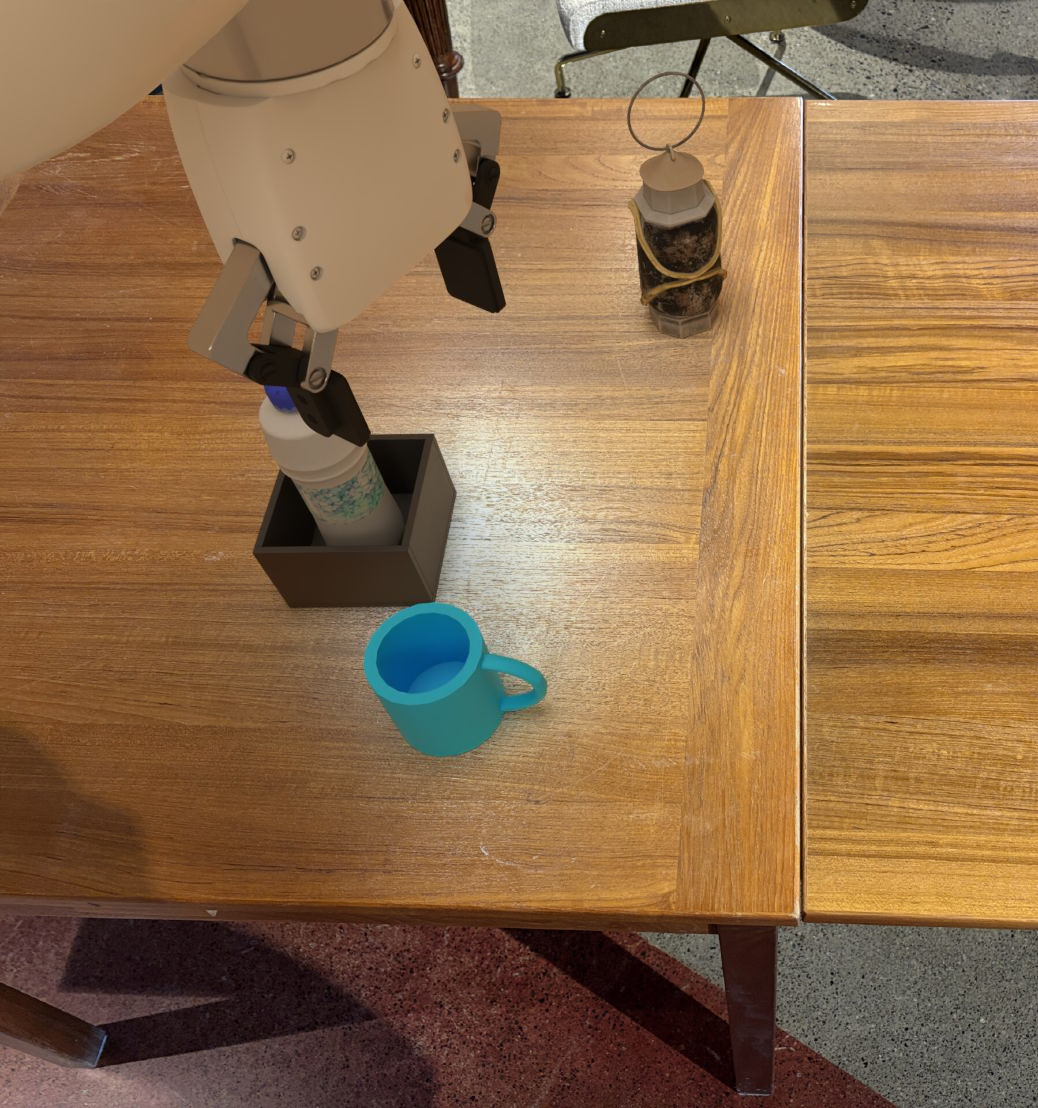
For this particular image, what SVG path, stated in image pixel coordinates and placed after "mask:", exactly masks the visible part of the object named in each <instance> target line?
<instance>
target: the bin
mask: <svg viewBox="0 0 1038 1108" xmlns="http://www.w3.org/2000/svg"><path fill="white" fill-rule="evenodd" d="M367 446H368V449H369V451H370V453H371V455H372V457H373V459H374V461H375V464H376V466H377V468H378V470H379V472H380V474H381V476H382V478H383V481H384V483H385V485H386V487H387V488H388V490H389V492H390V493H391V495H392V497H393V498H394V500H395V502H396V503H397V505H398V507H399V509H400V511H401V513H402V516H403V519H404V522H405V526H406V527H405V531H404V535H403V540H402V543H400V544H399V545H376V546H327V544H326V543H325V541H324V539H323V537H322V535H321V532H320V530H319V528H318V525H317V523H316V521H315V519H314V517H313V515H312V513H311V512H310V510H309V508H308V507H307V505H306V503H305V501H304V500H303V498H302V496H301V495H300V493H299V491H298V489H297V488H296V486H295V484H294V482H293V481H292V479H291V478H290V477H288V476H287V475H286V474H284V473H283V472H282V471H281V469H280V468H279V470H278V472H277V476H276V479H275V482H274V485H273V488H272V491H271V494H270V496H269V500H268V502H267V506H266V508H265V509H266V510H265V512H264V515H263V518H262V522H261V525H260V527H259V531H258V533H257V537H256V540H255V543H254V547H253V549H252V555H253V557H254V558H255V559H256V561H257V562H258V564H259V565H260V566H261V569H262V570H263V571H264V573H265V574H266V575H267V577H268V578H269V580H270V581H271V583H272V584H273V586H274V588H276V590H277V591H278V593H279V594H280V596H281V597H282V598H283V600H284V602H285V603H286V605H287V607H289V608H290V609H291V608H293V609H294V608H296V609H297V608H373V607H374V608H375V607H376V608H378V607H379V608H380V607H381V608H383V607H385V608H386V607H411V606H414V605H417V604H423V603H433V602H436V597H437V592H438V587H439V582H440V577H441V573H442V572H441V571H442V567H443V561H444V557H445V552H446V548H447V541H448V537H449V533H450V527H451V522H452V517H453V512H454V508H455V507H454V506H455V501H456V496H457V490H456V488H455V484H454V481H453V479H452V477H451V474H450V471H449V468H448V466H447V464H446V461H445V459H444V456H443V453H442V451H441V448H440V446H439V443H438V440H437V438H436V435H435V433H432V432H431V433H375V434H373V433H371V434H370V440H369V441H368V442H367Z"/></svg>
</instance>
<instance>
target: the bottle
mask: <svg viewBox="0 0 1038 1108" xmlns="http://www.w3.org/2000/svg"><path fill="white" fill-rule="evenodd" d="M263 389H264V392H265V395H266V397H265V398H264V399H263V401H262V402H261V404H260V407H259V411H258V422H259V425H260V428H261V430H262V434H263V436H264V438H265V441H266V445H267V449H268V452H269V454H270V457H271V459H273V461H274V462H275V463H276V464H277V467H278V468H279V469H281V471H282V472H283V473H284V474H286V475H287V476H288V477H290V478H291V479H292V481H293V482H294V484H295V486H296V488H297V489H298V491H299V493H300V495H301V496H302V498H303V500H304V501H305V503H306V505H307V507H308V508H309V510H310V512H311V513H312V515H313V517H314V519H315V521H316V523H317V525H318V528H319V530H320V532H321V535H322V537H323V539H324V541H325V543H326V544H327V546H376V545H399V544H400V543H402V540H403V535H404V531H405V527H406V526H405V522H404V519H403V516H402V513H401V511H400V509H399V507H398V505H397V503H396V502H395V500H394V498H393V497H392V495H391V493H390V492H389V490H388V488H387V487H386V485H385V483H384V481H383V478H382V476H381V474H380V472H379V470H378V468H377V466H376V464H375V461H374V459H373V457H372V455H371V453H370V451H369V449H368V446H367V443H366V444H365V445H364V446H363V447H359V446H356V445H354V444H352V443H350V442H348V441H346V440H344V439H342V438H340V437H338V436H336V435H334V434H333V435H332V436H331V437H329V438H327V437H324V436H322V435H320V434H318V433H316V432H315V431H313V430H312V429H310V428H309V427H308V426H307V425H306V424H305V422H304V421H303V419H302V418H301V416H300V414H299V412H298V410H297V408H296V406H295V404H294V402H293V401H292V399H291V397H290V395H289V393H288V391H287V389H286V387H278V386H263Z"/></svg>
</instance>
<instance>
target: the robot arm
mask: <svg viewBox="0 0 1038 1108" xmlns="http://www.w3.org/2000/svg"><path fill="white" fill-rule="evenodd" d="M160 85H161V87H162V93H163V98H164V102H165V107H166V111H167V116H168V120H169V124H170V127H171V131H172V135H173V139H174V142H175V145H176V149H177V153H178V155H179V159H180V161H181V164H182V167H183V171H184V173H185V176H186V178H187V182H188V183H189V184H188V185H189V186H190V189H191V191H192V194H193V196H194V199H195V202H196V204H197V207H198V209H199V212H200V214H201V217H202V219H203V222H204V225H205V226H206V229H207V231H208V233H209V236H210V238H211V240H212V243H213V245H214V247H215V249H216V252H217V254H218V255H219V258H220V261H221V262H222V265H223V267H222V269H221V271H220V273H219V275H218V277H217V278H216V281H215V283H214V284H213V287H212V288H211V291H210V292H209V294H208V296H207V298H206V300H205V302H204V303H203V306H202V307H201V309H200V311H199V313H198V314H197V317H196V319H195V321H194V322H193V325H192V327H191V329H190V330H189V332H188V335H187V337H186V346H187V348H188V349H189V351H191V352H192V353H194V354H196V355H198V356H201V357H203V358H204V359H206V360H208V361H210V362H213V363H214V364H217V365H219V366H221V367H223V368H225V369H227V370H229V371H231V372H232V373H235V374H236V375H238V376H241V377H243V378H245V379H247V380H249V381H251V382H253V383H255V384H258V385H259V386H263V387H264V386H278V387H286V389H287V391H288V393H289V395H290V397H291V399H292V401H293V402H294V404H295V406H296V408H297V410H298V412H299V414H300V416H301V418H302V419H303V421H304V422H305V424H306V425H307V426H308V427H309V428H310V429H312V430H313V431H315V432H316V433H318V434H320V435H322V436H324V437H327V438H329V437H331V436H332V435H333V434H334V435H336V436H338V437H340V438H342V439H344V440H346V441H348V442H350V443H352V444H354V445H356V446H359V447H363V446H364V445H365V444H366V443H367V442H368V441H369V440H370V434H372V432H371V430H370V427H369V425H368V422H367V420H366V418H365V416H364V414H363V411H362V410H361V407H360V405H359V402H358V401H357V399H356V396H355V394H354V392H353V390H352V388H351V386H350V383H349V381H348V379H347V377H345V375H343V374H342V373H340V372H338V371H336V370H334V369H332V367H333V366H332V365H333V361H334V357H335V350H336V346H337V340H338V336H339V331H340V328H342V327H344V326H346V325H347V324H349V323H350V322H351V321H353V320H354V319H356V318H358V316H360V315H361V314H362V313H364V312H365V311H366V310H368V308H370V307H371V306H372V305H374V304H375V302H377V300H379V299H380V298H381V297H382V296H384V295H385V294H386V293H387V292H388V291H389V290H390V289H392V288H393V287H394V286H396V285H397V283H398V282H400V281H401V280H402V279H403V278H404V277H405V276H406V275H407V274H408V273H410V272H411V271H412V270H413V269H414V268H415V267H416V266H417V265H419V264H420V263H421V262H422V261H423V260H424V259H425V258H426V257H428V256H429V255H430V254H431V253H432V252H433V251H434V254H435V257H436V260H437V263H438V267H439V270H440V273H441V276H442V280H443V282H444V285H445V289H446V291H447V293H448V295H450V296H451V297H452V298H454V299H457V300H459V301H461V302H464V303H466V304H469V305H470V306H474V307H475V308H478V309H481V310H483V311H485V312H488V313H490V314H499V313H500V312H501V311H502V310H504V308H505V307H507V302H506V298H505V297H506V296H505V294H504V289H503V286H502V282H501V278H500V275H499V271H498V268H497V267H498V266H497V263H496V260H495V255H494V252H493V248H492V245H491V241H490V239H489V238H490V237H491V236H492V235H493V234H494V232H495V230H496V228H497V223H498V221H497V219H498V218H497V215H496V212H493V211H492V210H491V209H492V205H493V201H494V198H495V195H496V191H497V188H498V184H499V182H500V177H501V166H500V164H499V162H497V161H496V157H497V156H499V153H500V152H499V151H500V141H501V140H500V139H501V131H502V130H501V129H502V115H501V113H500V111H498V110H496V109H493V108H490V107H488V106H484V105H481V104H479V103H475V102H466V103H465V102H464V103H450V102H449V98H448V97H447V94H446V91H445V88H444V86H443V84H442V81H441V77H440V74H439V73H438V70H437V68H436V66H435V64H434V61H433V59H432V55H431V54H430V51H429V49H428V47H427V45H426V42H425V41H424V38H423V36H422V34H421V32H420V30H419V28H418V25H417V24H416V21H415V19H414V18H413V15H412V14H411V13H410V11H409V8H408V7H407V5H406V3H405V1H404V0H0V182H3V181H5V180H7V179H8V180H9V179H10V178H12V177H15V176H17V175H19V174H21V173H24V172H25V171H28V170H30V169H32V168H34V167H37V166H38V165H40V164H42V163H44V162H46V161H48V160H50V159H52V158H54V157H56V156H58V155H59V154H62V153H64V152H66V151H68V150H69V149H72V148H73V147H74V146H76V145H78V144H80V143H82V142H83V141H85V140H86V139H88V138H89V137H91V136H93V135H94V134H96V133H98V132H99V131H101V130H102V129H105V127H107V126H109V125H110V124H112V123H113V122H114V121H116V120H117V119H119V118H120V117H121V116H123V115H124V114H125V113H126V112H128V111H129V110H131V109H132V108H134V107H135V106H136V105H137V104H139V103H140V102H141V101H142V100H143V99H145V98H146V97H147V96H148V95H149V94H151V93H152V92H153V91H154V90H156V88H158V87H160ZM264 302H266V304H265V311H264V316H263V323H262V329H261V334H260V340H259V343H253V342H250V341H249V331H250V328H251V327H252V324H253V323H254V321H255V319H256V317H257V315H258V314H259V311H260V309H261V307H262V305H263V303H264ZM297 323H299V324H302V325H304V326H306V327H305V333H304V337H303V342H302V348H301V349H298V348H296V347H293V345H294V344H293V343H294V338H295V333H296V329H297V328H296V327H297Z"/></svg>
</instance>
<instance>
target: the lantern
mask: <svg viewBox="0 0 1038 1108" xmlns="http://www.w3.org/2000/svg"><path fill="white" fill-rule="evenodd" d="M667 76H680V77H683V78H686V79H687V80H689V81H690V82H692V83H693V84H694V85H695V87H696V88H697V89H698V92H699V94H700V96H701V112H700V117H699V119H698V121H697V124H696V125H695V127H694V128H693V130H692V131H691V132H690V133H689V134H688V135H687V136H686V137H684V138H683V139H682V140H680V141H679V142H677V143H675V144H671V143H670V142H666V144H665V146H664V147H654V146H649V145H647V144H645V143H644V142H642V141H641V140H640V139H639V138H638V137H637V136H636V134H635V132H634V130H633V128H632V124H631V113H632V108H633V105H634V102H635V100H636V98H637V97H638V95H639V94H640V93H641V92H642V90H644V88H645V87H646V86H648V85H649V84H650V83H651V82H653V81H655V80H657V79H660V78H662V77H667ZM705 112H706V98H705V93H704V91H703V89H702V87H701V85H700V83H699V82H698V81H697V80H696V79H695V78H694V77H693V76H691V75H689V74H687V73H684V72H680V71H672V70H671V71H664V72H661V73H658V74H655V75H653V76H652V77H650V78H648V79H647V80H646V81H644V82H643V83H642V84H641V85H640V86H639V87H638V88H637V90H636V91H635V92H634V94H633V96H632V97H631V99H630V102H629V104H628V109H627V113H626V119H627V121H626V122H627V127H628V131H629V133H630V135H631V138H633V140H634V141H635V142H636V143H637V144H638V145H640V146H641V147H642V148H645V149H647V150H649V151H655V152H662V153H660V154H657V155H655V156H652V157H650V158H647V159H646V160H645V161H643V162H642V164H641V165H640V166H639V169H638V172H639V173H638V174H639V176H640V178H641V180H642V185H641V186H640V188H639V189H638V190H637V192H636V193H635V195H634V196H633V198H631V200H628V203H627V209H628V210H629V211H630V213H631V215H632V217H633V222H634V231H635V233H634V234H635V243H636V244H635V245H636V255H637V264H638V274H639V276H638V277H639V285H640V287H639V288H640V292H641V295H640V298H639V301H640V304H641V305H642V306H645V307H646V306H648V312H649V315H650V317H651V319H652V321H653V322H654V324H655V327H656V328H657V329H658V332H659V333H661V334H665V335H668V336H672V337H675V338H679V339H683V338H686V337H690V336H694V335H696V334H700V333H703V332H706V331H709V330H712V327H713V326H714V324H715V322H716V320H717V318H718V317H719V315H720V314H719V313H720V312H719V302H718V298H719V297H720V295H721V293H722V289H723V284H724V283H723V282H724V281H725V280H726V279H727V277H728V270H727V269H725V268H723V267H722V266H723V265H722V256H721V249H722V241H723V211H722V206H721V202H720V200H719V197H718V195H717V193H716V191H715V189H714V187H713V185H712V183H711V182H710V181H709V180H708V179H706V178H703V177H704V175H705V168H704V166H703V163H702V162H701V160H699V159H698V158H697V157H696V156H695V155H694V154H691V153H689V152H685V151H676V150H675V148H678V147H680V146H681V145H684V144H685V143H686V142H687V141H689V140H690V139H691V138H692V137H693V136H694V135H695V133H696V132H697V131H698V129H699V128H700V126H701V124H702V122H703V119H704V116H705Z"/></svg>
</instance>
